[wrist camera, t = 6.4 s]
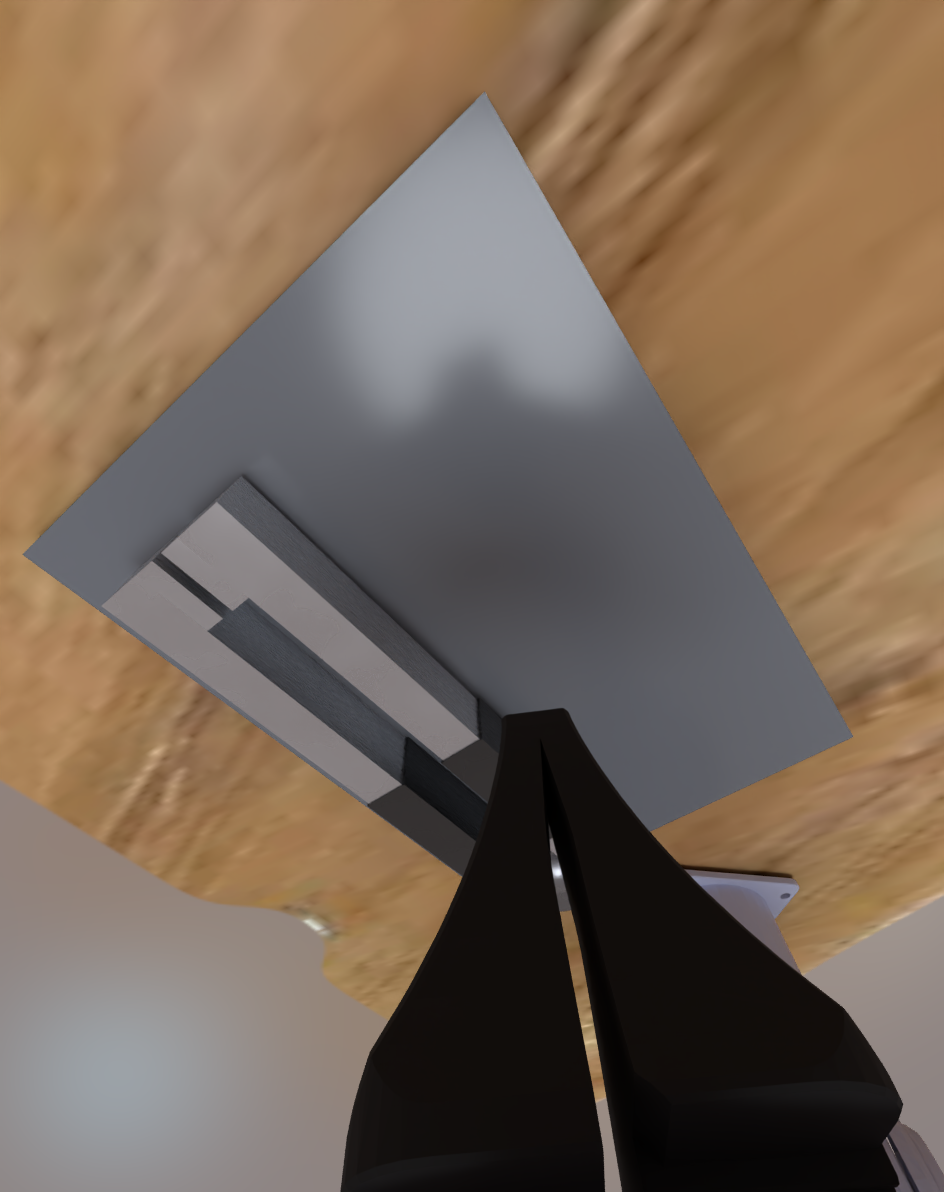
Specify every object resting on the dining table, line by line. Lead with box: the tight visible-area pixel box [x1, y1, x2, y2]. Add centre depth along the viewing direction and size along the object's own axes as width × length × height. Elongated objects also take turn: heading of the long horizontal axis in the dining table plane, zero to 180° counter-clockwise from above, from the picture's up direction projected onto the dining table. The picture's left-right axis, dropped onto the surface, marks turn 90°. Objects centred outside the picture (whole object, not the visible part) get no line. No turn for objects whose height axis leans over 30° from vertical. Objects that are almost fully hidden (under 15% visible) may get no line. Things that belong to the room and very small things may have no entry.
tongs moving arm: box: [161, 476, 571, 911], centre depth 21 cm, size 22×5×2 cm, turn 38°
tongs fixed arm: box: [102, 526, 487, 876], centre depth 20 cm, size 17×2×2 cm, turn 38°
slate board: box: [23, 92, 853, 877], centre depth 21 cm, size 25×18×1 cm
